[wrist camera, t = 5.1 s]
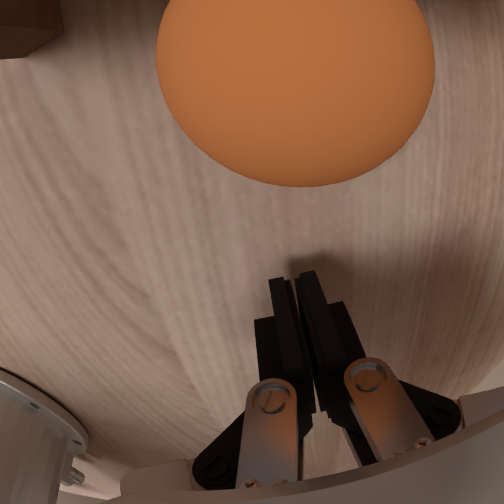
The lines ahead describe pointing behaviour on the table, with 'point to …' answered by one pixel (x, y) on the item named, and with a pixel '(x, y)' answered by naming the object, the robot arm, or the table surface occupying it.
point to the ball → (296, 83)
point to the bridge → (27, 26)
